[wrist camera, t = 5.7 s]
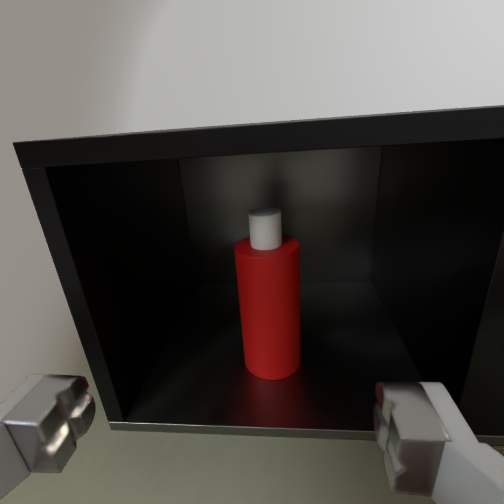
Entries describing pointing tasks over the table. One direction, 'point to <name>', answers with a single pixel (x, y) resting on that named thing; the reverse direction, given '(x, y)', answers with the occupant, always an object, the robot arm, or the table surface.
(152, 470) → the table surface
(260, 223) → the sauce bottle
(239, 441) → the table surface
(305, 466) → the table surface
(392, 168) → the toaster oven
